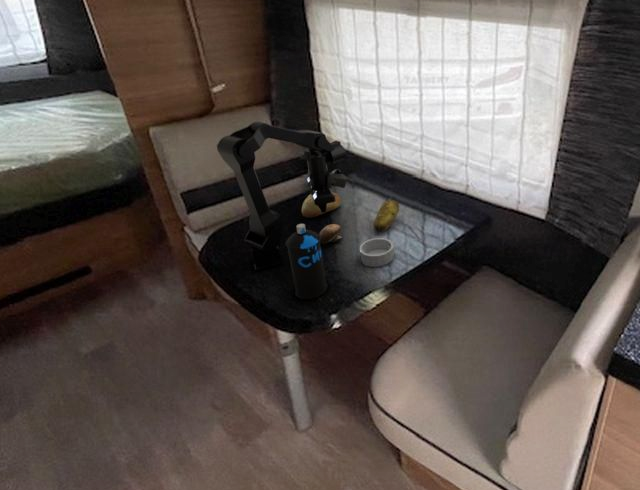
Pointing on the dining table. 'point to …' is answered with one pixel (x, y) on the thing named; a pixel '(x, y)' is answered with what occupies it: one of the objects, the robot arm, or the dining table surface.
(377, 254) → the white ramekin
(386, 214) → the potato
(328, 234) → the mushroom
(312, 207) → the bread roll
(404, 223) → the dining table surface
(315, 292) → the aerosol can
